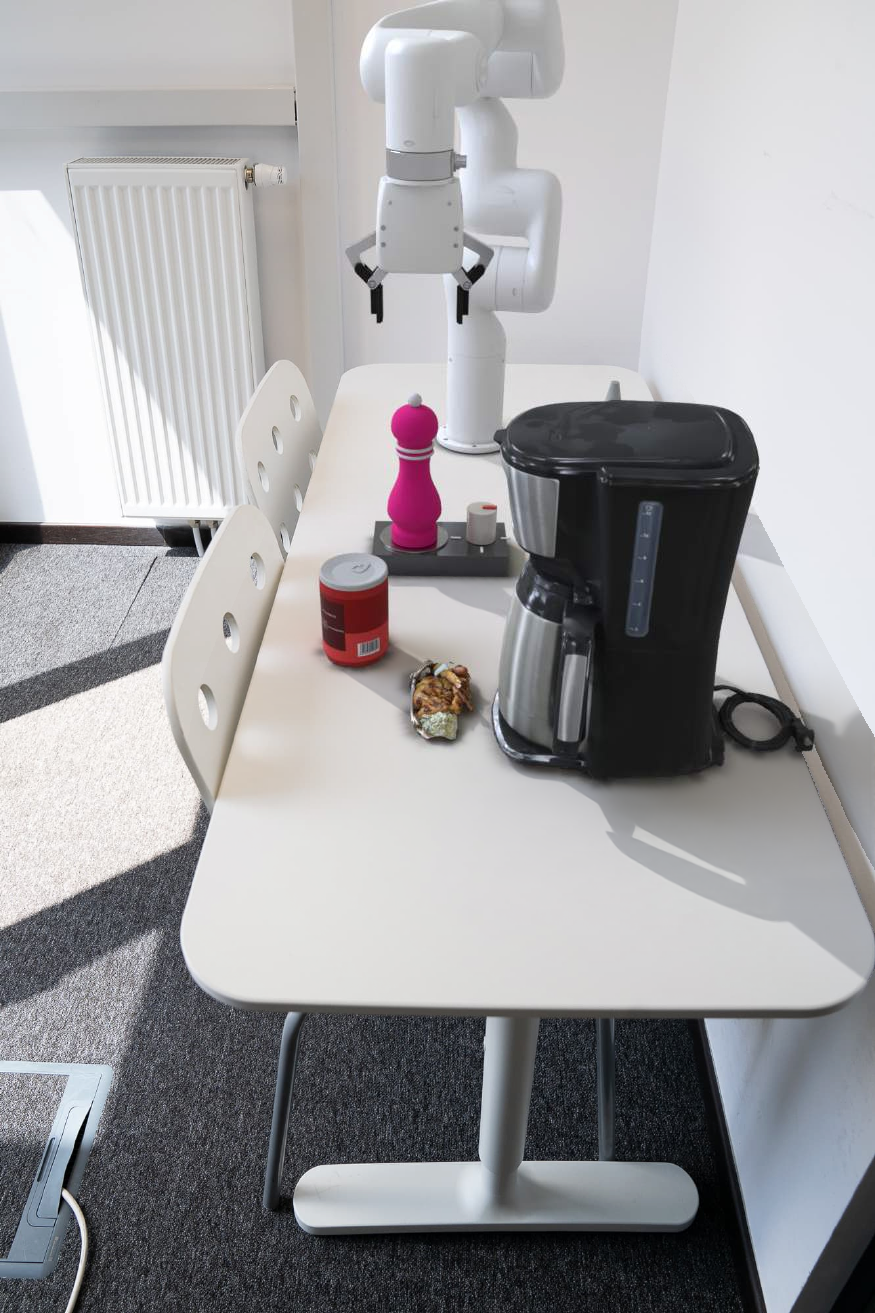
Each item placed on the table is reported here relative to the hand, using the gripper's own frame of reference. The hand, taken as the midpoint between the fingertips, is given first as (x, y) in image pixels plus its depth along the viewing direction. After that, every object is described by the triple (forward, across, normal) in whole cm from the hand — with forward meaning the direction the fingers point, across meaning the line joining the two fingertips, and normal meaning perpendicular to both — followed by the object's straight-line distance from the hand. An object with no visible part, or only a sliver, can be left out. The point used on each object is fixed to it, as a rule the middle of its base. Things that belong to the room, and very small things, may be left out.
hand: (419, 320), depth 124 cm
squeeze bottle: (+32, -28, -18) cm, 46 cm away
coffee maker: (+31, -23, +42) cm, 57 cm away
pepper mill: (+28, +1, +3) cm, 29 cm away
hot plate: (+32, -3, +2) cm, 32 cm away
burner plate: (+29, +1, +2) cm, 29 cm away
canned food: (+31, +7, +25) cm, 41 cm away
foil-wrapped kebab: (+31, -3, +36) cm, 48 cm away
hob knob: (+28, -8, +2) cm, 30 cm away
